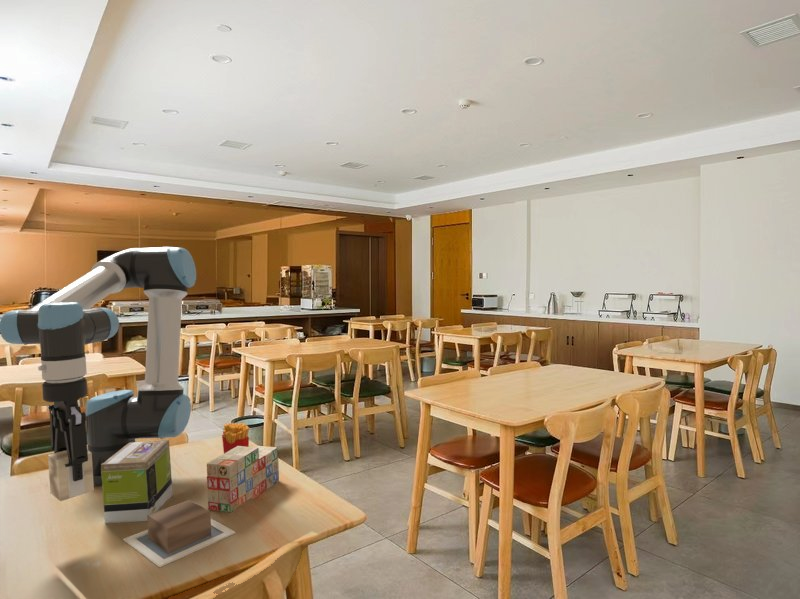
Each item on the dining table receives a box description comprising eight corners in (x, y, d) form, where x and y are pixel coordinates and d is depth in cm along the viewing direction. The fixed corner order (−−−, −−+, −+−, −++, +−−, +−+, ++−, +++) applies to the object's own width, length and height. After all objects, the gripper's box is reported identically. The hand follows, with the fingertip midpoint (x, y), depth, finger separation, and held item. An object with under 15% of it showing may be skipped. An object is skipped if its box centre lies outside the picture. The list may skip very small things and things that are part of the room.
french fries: (220, 468, 147) (218, 424, 146) (231, 463, 151) (230, 420, 150) (242, 474, 142) (241, 428, 142) (254, 469, 146) (252, 424, 145)
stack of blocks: (259, 478, 140) (257, 434, 139) (279, 481, 138) (278, 436, 137) (207, 514, 119) (205, 462, 119) (230, 517, 117) (229, 464, 117)
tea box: (132, 498, 128) (129, 440, 127) (173, 496, 129) (171, 438, 128) (103, 528, 113) (99, 462, 112) (150, 525, 114) (147, 460, 113)
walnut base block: (148, 538, 106) (147, 515, 106) (189, 521, 113) (188, 499, 113) (168, 553, 101) (167, 528, 100) (211, 534, 107) (210, 511, 107)
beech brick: (50, 493, 104) (47, 454, 104) (83, 483, 109) (80, 446, 108) (60, 501, 101) (57, 461, 100) (94, 490, 105) (91, 452, 105)
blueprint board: (123, 544, 106) (123, 538, 106) (196, 515, 118) (196, 510, 118) (159, 572, 96) (159, 566, 96) (235, 537, 108) (235, 531, 108)
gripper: (28, 376, 106) (35, 484, 108) (59, 389, 94) (66, 511, 96) (69, 370, 112) (75, 473, 114) (103, 381, 100) (109, 496, 101)
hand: (71, 490), depth 105 cm, fingers closed on beech brick, 6 cm apart
